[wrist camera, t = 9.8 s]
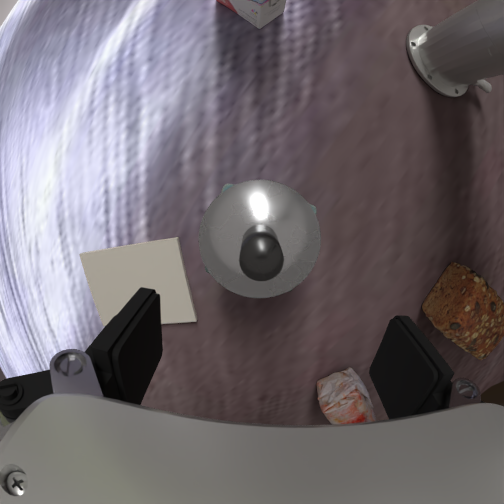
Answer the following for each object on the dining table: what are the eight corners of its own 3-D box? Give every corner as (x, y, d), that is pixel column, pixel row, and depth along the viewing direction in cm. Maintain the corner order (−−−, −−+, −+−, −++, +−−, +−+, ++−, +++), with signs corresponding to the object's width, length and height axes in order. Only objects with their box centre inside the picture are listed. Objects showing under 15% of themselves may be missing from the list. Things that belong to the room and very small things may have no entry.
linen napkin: (178, 237, 34) (177, 238, 34) (197, 318, 38) (196, 321, 37) (82, 252, 35) (79, 254, 34) (105, 323, 39) (103, 325, 38)
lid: (322, 182, 24) (342, 187, 18) (313, 294, 27) (326, 325, 21) (199, 179, 24) (183, 182, 18) (202, 292, 27) (190, 323, 21)
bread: (415, 307, 38) (447, 340, 28) (451, 253, 35) (490, 276, 25) (461, 342, 40) (487, 369, 31) (490, 299, 38) (520, 322, 28)
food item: (307, 379, 41) (317, 423, 32) (349, 356, 40) (368, 398, 31) (337, 415, 45) (348, 453, 35) (373, 396, 43) (389, 433, 34)
